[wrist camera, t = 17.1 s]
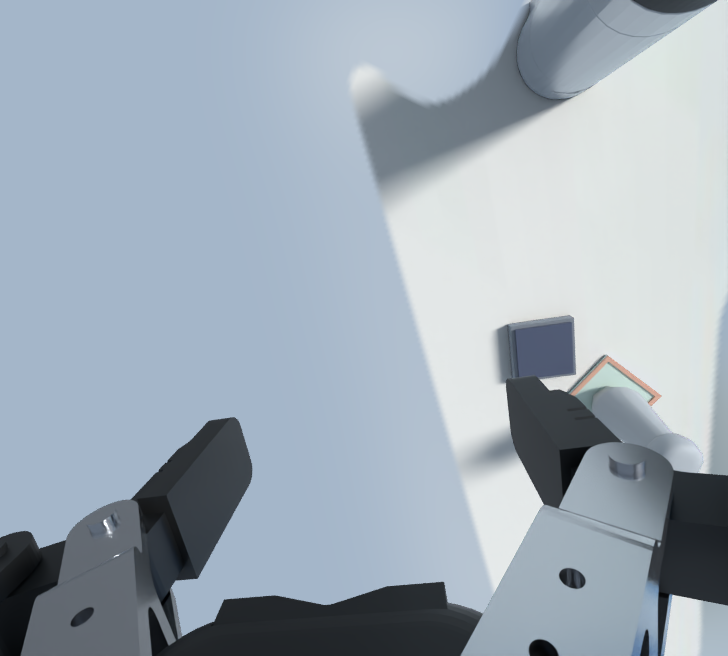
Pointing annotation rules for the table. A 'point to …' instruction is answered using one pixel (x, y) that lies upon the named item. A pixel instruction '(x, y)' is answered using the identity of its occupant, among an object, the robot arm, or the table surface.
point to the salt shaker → (644, 427)
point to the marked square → (610, 382)
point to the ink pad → (543, 347)
